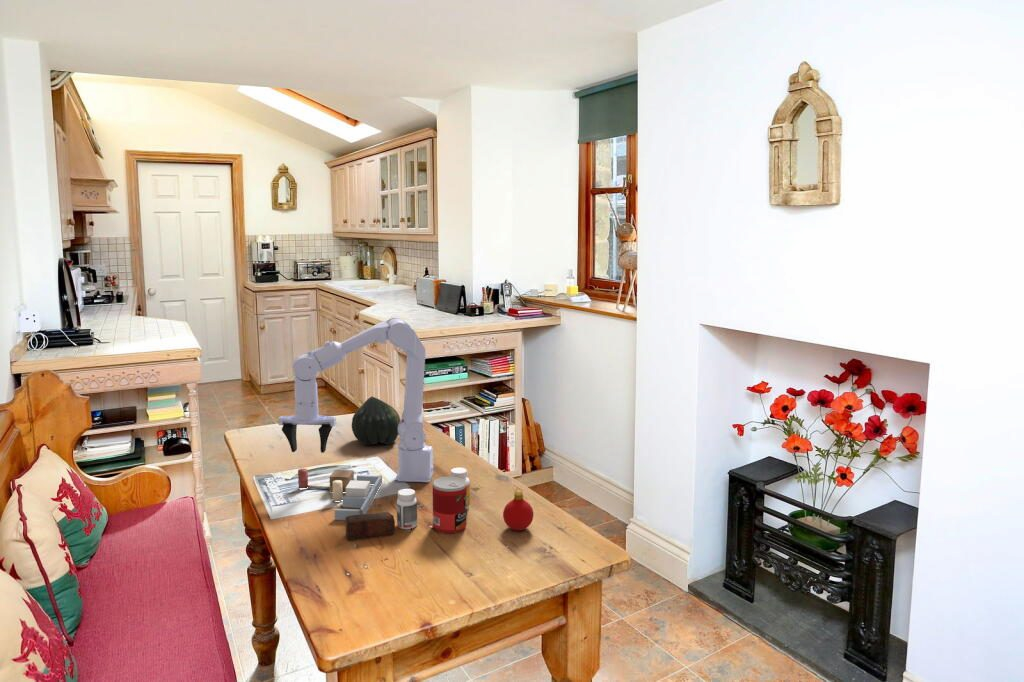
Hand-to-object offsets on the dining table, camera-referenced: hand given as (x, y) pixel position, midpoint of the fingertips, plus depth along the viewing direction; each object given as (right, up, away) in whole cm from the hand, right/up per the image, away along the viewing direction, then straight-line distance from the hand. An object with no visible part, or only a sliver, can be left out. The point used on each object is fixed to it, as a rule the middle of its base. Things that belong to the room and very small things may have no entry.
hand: (308, 451), depth 188 cm
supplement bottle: (+40, -13, -9) cm, 43 cm away
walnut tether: (+4, -10, +1) cm, 11 cm away
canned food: (+39, -15, -20) cm, 46 cm away
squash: (+11, -3, +38) cm, 39 cm away
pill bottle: (+29, -15, -20) cm, 38 cm away
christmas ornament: (+55, -15, -20) cm, 60 cm away
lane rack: (+15, -12, -7) cm, 20 cm away
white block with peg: (+12, -12, -7) cm, 18 cm away
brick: (+21, -16, -25) cm, 36 cm away
